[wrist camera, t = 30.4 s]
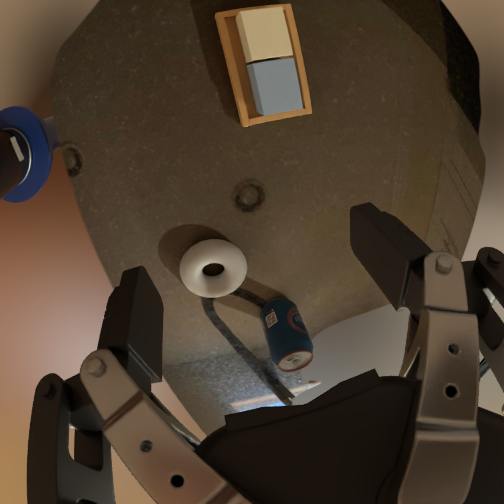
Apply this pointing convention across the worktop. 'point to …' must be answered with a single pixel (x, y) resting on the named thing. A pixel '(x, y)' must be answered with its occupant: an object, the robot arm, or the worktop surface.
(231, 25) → the frame
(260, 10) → the pad
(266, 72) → the pad
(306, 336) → the soda can
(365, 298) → the worktop surface
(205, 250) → the donut
